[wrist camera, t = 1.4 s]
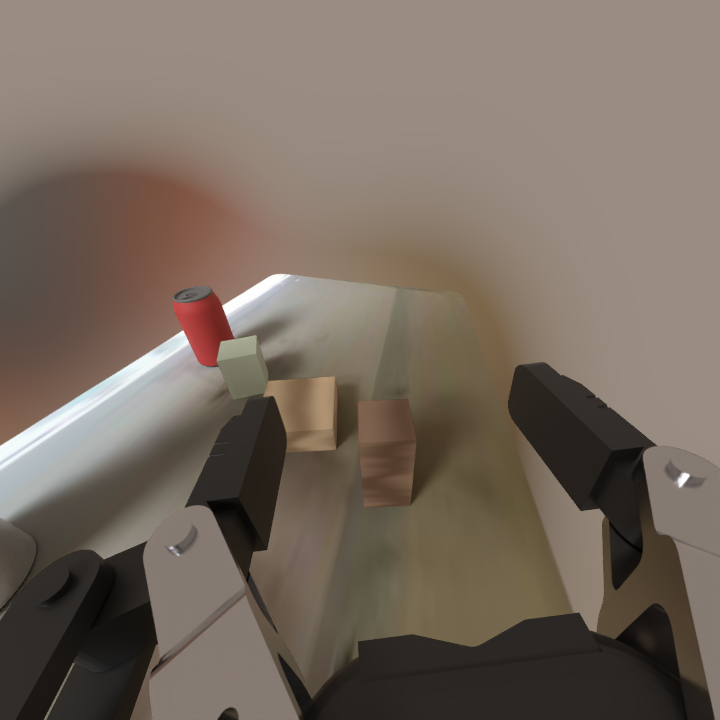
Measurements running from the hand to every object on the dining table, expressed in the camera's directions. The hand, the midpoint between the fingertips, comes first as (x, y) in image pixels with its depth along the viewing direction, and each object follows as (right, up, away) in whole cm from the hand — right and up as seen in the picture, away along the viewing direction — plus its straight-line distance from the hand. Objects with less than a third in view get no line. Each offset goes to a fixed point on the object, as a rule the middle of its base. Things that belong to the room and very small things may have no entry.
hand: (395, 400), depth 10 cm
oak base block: (-9, -7, +28) cm, 30 cm away
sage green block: (-18, -2, +34) cm, 39 cm away
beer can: (-26, +2, +41) cm, 48 cm away
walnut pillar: (+1, -12, +20) cm, 23 cm away
